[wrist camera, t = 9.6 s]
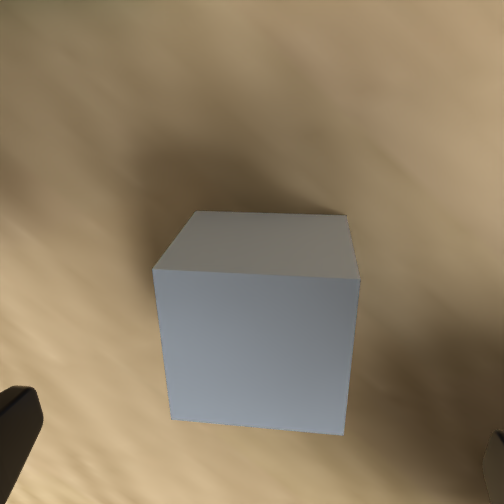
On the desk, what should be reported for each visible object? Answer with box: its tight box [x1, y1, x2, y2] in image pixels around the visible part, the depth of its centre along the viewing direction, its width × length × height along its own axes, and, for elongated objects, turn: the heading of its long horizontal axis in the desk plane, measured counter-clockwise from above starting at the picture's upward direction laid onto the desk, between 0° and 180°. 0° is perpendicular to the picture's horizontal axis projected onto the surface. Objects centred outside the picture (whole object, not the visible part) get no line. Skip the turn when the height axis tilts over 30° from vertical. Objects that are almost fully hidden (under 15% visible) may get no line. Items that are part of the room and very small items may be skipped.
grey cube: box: [152, 211, 361, 436], centre depth 12 cm, size 4×4×4 cm
